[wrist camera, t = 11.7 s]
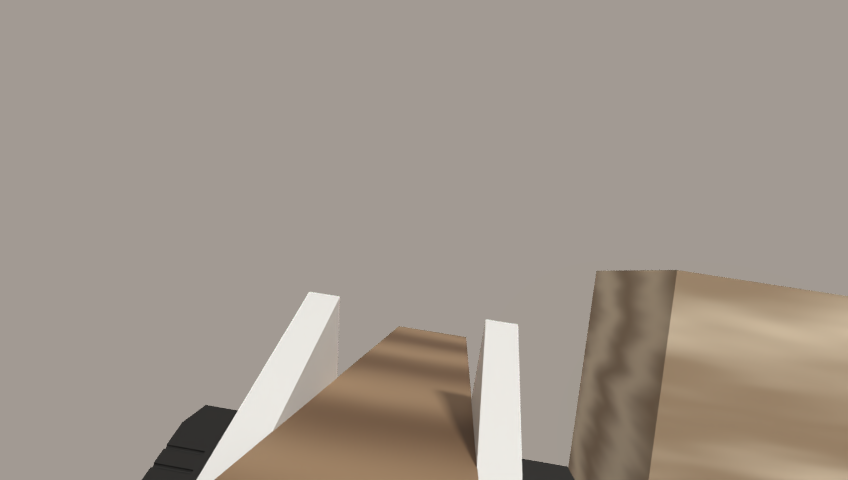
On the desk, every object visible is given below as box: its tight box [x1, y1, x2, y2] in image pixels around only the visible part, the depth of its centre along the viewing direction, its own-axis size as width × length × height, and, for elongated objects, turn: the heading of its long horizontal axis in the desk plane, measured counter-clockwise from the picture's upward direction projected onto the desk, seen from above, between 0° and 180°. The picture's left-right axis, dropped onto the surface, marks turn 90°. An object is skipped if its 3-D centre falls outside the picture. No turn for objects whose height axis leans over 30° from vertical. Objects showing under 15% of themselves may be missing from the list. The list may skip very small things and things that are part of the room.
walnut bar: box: [215, 326, 478, 480], centre depth 17 cm, size 23×4×4 cm, turn 177°
